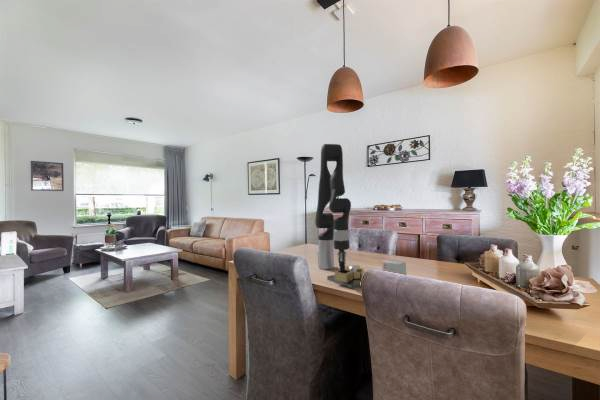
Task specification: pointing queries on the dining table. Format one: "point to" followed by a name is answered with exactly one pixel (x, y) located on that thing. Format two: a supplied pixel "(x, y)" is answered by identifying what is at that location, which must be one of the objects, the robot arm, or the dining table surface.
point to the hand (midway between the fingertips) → (342, 274)
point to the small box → (394, 266)
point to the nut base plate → (350, 284)
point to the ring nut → (349, 274)
